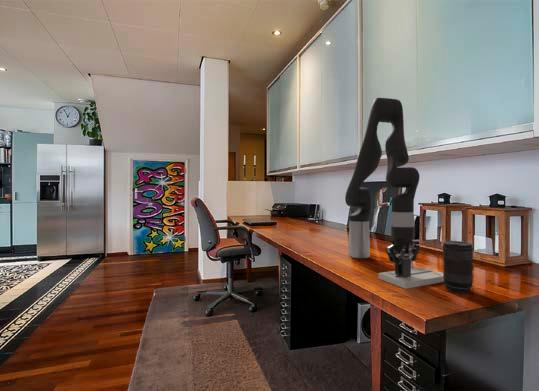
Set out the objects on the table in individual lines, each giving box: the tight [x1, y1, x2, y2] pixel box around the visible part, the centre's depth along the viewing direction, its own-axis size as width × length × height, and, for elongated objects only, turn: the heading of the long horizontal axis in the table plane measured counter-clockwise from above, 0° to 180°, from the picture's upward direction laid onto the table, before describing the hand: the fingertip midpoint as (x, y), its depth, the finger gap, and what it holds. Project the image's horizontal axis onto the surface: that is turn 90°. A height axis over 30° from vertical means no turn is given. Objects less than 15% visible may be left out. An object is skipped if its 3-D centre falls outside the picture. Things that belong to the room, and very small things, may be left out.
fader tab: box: [395, 257, 411, 277], centre depth 102 cm, size 4×3×6 cm
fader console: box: [378, 266, 444, 289], centre depth 104 cm, size 12×21×2 cm, turn 112°
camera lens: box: [442, 240, 474, 294], centre depth 93 cm, size 8×8×15 cm
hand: (402, 273), depth 102 cm, fingers closed on fader tab, 3 cm apart
